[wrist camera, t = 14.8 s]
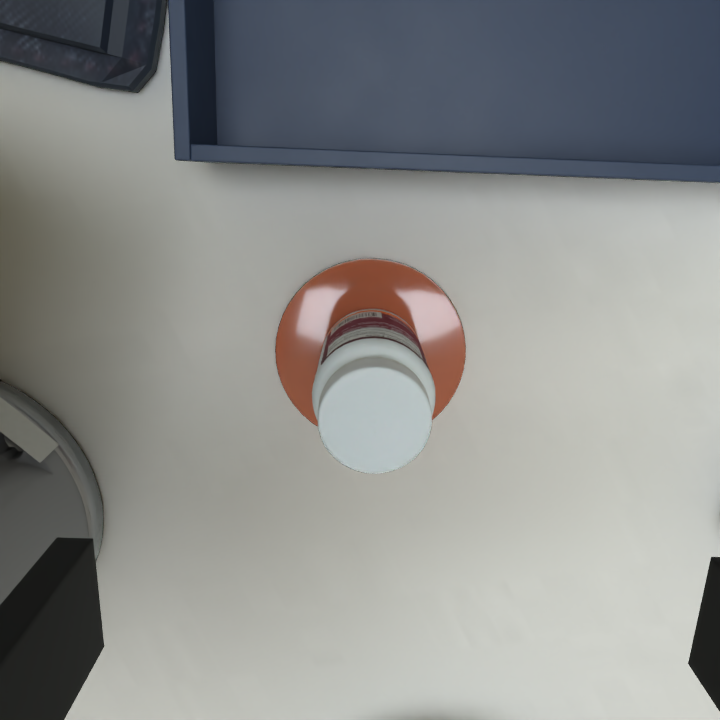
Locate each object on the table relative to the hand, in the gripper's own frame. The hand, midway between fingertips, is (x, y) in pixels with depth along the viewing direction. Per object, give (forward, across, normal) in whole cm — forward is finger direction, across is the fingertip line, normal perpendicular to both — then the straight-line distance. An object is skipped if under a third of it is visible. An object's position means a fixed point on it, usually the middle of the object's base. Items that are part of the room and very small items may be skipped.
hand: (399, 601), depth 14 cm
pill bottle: (+17, 0, 0) cm, 17 cm away
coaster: (+18, 0, 0) cm, 18 cm away
